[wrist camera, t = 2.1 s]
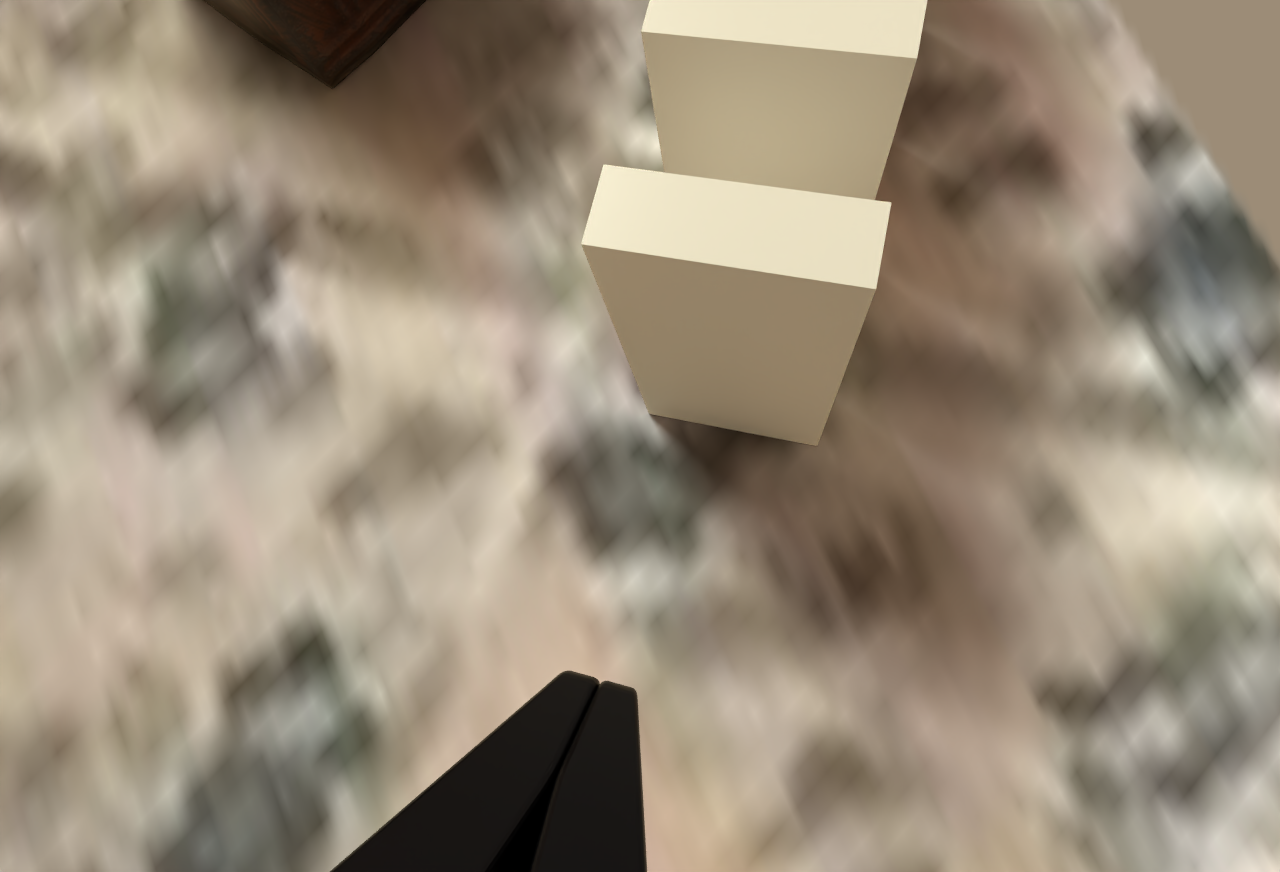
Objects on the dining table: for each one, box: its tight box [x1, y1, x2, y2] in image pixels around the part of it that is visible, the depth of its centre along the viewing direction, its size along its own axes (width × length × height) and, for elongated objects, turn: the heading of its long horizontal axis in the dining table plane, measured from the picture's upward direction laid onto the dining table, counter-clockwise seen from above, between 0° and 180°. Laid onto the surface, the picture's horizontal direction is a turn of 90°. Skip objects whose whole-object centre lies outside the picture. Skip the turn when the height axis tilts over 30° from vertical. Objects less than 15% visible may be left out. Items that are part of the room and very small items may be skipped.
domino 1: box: [641, 0, 927, 200], centre depth 19 cm, size 2×5×10 cm, turn 77°
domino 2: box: [581, 165, 892, 446], centre depth 18 cm, size 2×5×10 cm, turn 77°
